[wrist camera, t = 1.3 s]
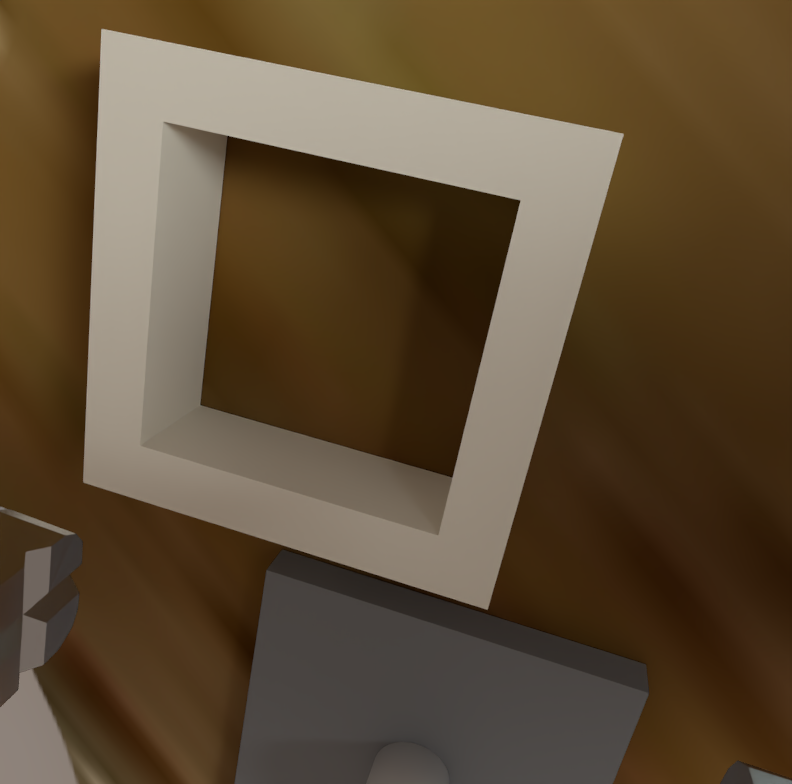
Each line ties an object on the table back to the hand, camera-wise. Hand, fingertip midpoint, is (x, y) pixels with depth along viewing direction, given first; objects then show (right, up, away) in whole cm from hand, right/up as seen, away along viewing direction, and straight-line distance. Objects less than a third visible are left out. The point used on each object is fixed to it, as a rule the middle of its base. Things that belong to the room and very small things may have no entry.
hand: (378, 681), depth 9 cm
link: (-1, +6, +16) cm, 17 cm away
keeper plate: (+1, -11, +21) cm, 24 cm away
